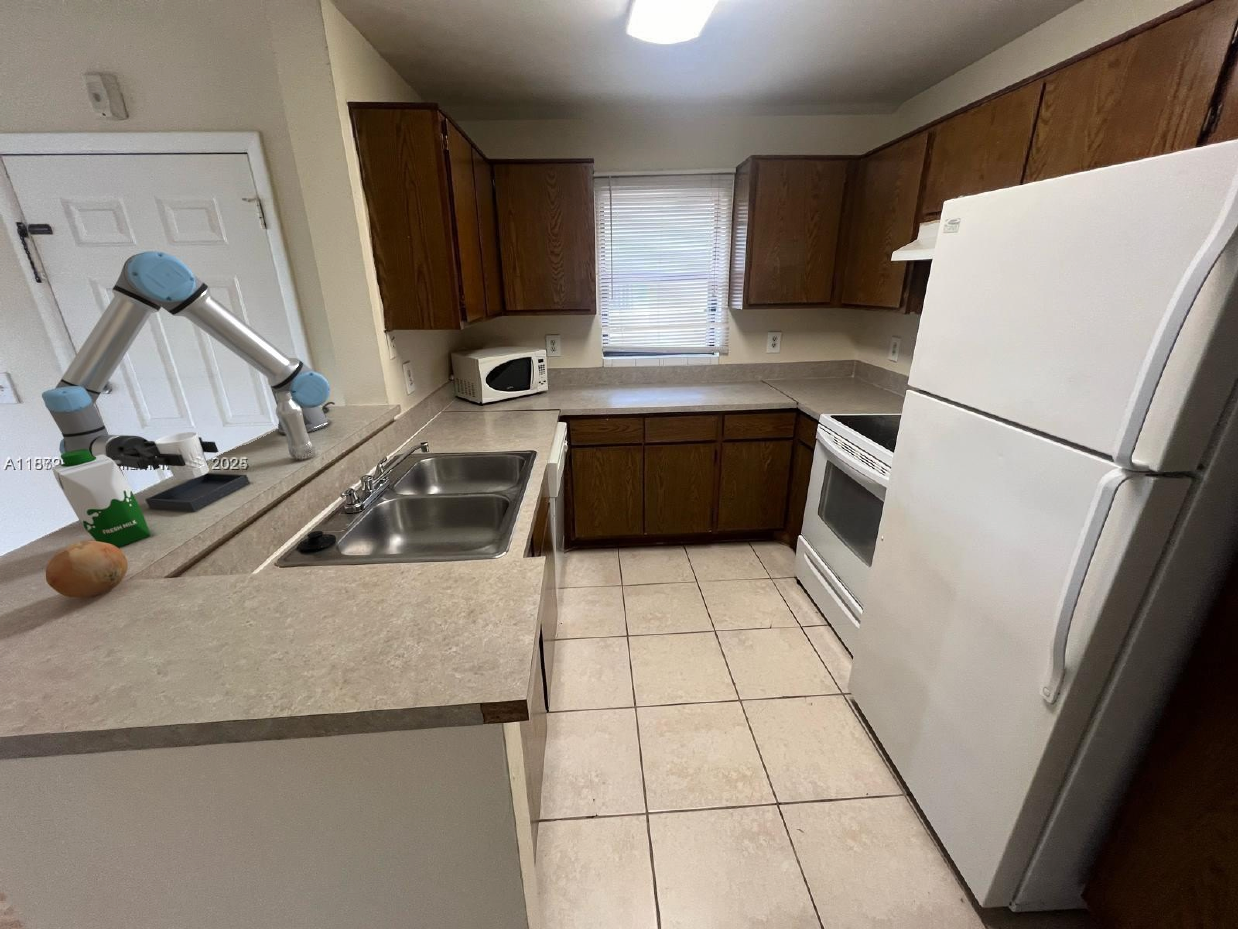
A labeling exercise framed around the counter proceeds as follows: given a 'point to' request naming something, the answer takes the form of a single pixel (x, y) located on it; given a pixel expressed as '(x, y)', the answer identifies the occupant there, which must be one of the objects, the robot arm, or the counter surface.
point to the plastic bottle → (294, 426)
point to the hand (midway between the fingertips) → (199, 453)
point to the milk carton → (101, 498)
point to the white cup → (184, 454)
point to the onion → (86, 569)
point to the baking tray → (197, 492)
